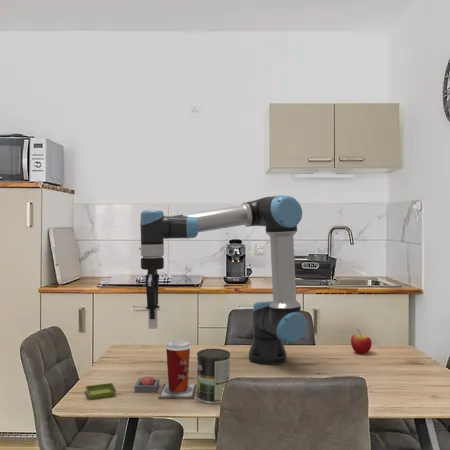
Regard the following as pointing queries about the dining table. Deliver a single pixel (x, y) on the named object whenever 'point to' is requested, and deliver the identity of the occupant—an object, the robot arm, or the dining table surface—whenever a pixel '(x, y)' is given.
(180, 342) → the coffee cup
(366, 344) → the apple
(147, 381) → the button
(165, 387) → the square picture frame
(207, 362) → the coffee can
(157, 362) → the dining table surface
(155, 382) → the button housing
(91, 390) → the green rectangular tray
